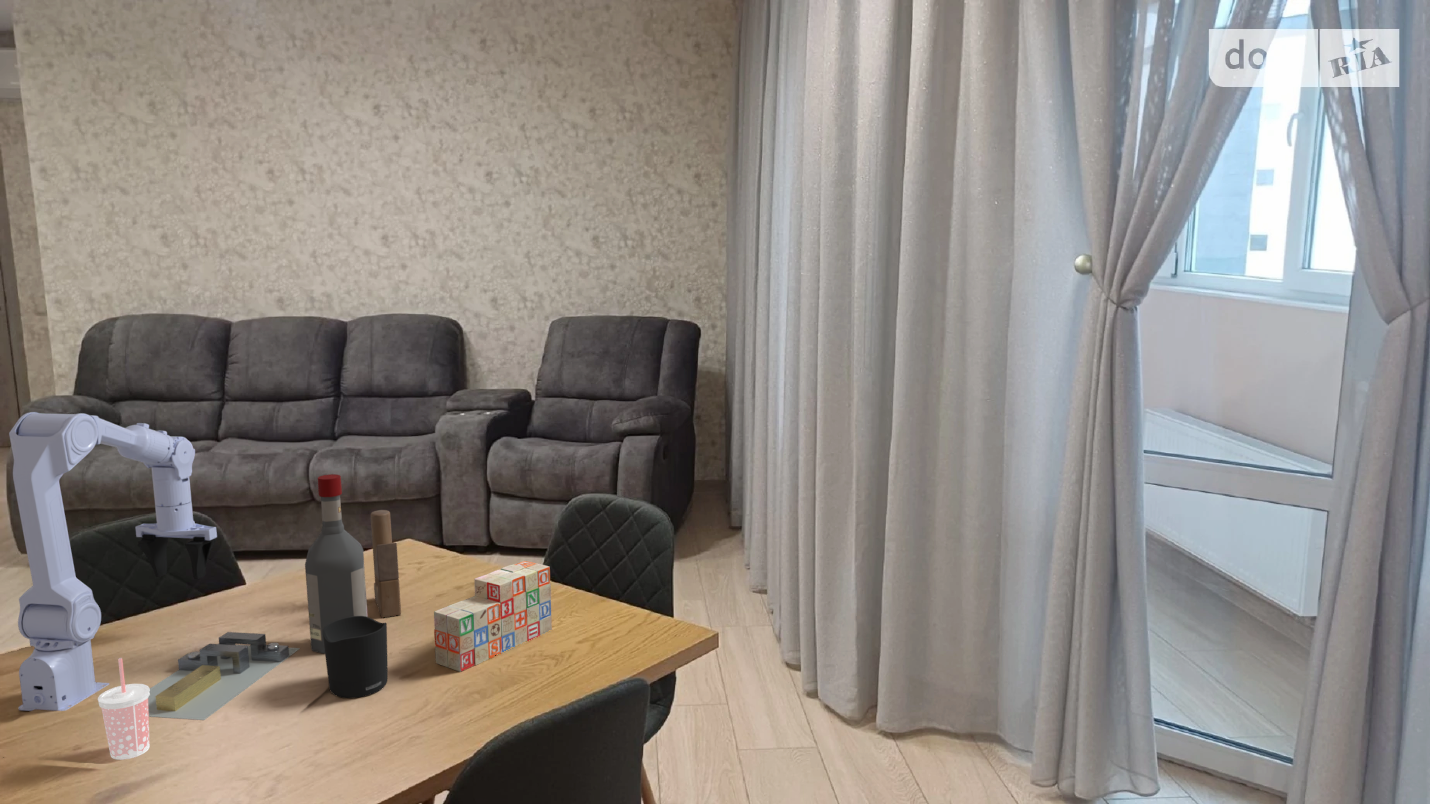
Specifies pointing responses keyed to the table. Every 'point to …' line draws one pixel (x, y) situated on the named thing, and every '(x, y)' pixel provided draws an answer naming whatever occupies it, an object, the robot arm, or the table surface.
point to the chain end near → (210, 657)
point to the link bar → (188, 688)
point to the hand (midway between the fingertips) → (180, 576)
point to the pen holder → (356, 656)
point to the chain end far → (256, 646)
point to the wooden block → (385, 565)
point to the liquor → (333, 567)
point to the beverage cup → (126, 718)
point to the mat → (212, 688)
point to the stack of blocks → (494, 616)
